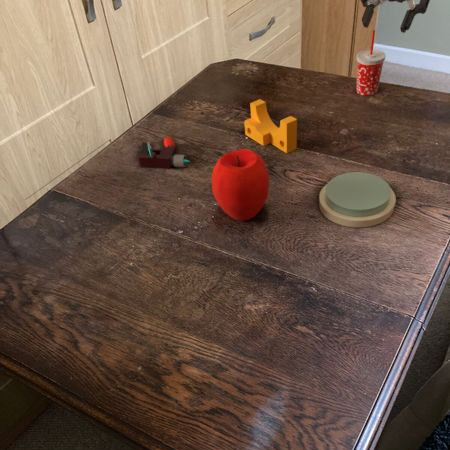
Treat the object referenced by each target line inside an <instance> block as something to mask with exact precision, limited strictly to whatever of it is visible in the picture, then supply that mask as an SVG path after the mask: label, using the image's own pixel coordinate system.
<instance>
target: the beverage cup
mask: <svg viewBox="0 0 450 450" xmlns="http://www.w3.org/2000/svg"><path fill="white" fill-rule="evenodd" d="M375 34H376V30H374V29H373V30H372V34H371V41H370V49H366V50H361V51H360V52H358V53H357V54H356V62H357V64H356V85H355V86H356V89H355V91H356V93H357V94H358V95H360V96H372V95H375V94H377V93H378V91H379V86H380V81H381V76H382V72H383V65H384V62H385V60H386V56H387V55H386V53H385V52H384V51H381V50H379V49H374V42H375Z"/></svg>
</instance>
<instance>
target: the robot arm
mask: <svg viewBox="0 0 450 450" xmlns="http://www.w3.org/2000/svg"><path fill="white" fill-rule="evenodd" d="M387 1H388V2H391V3H393V2H397V3H400V4H403V3H404V2H406V3H407V7H408V9H406V12H405V15H404V17H403V20H402V22H401V25H400V28H399V29H400V32H401V33H403V34H405V33H406V31H409V30H410V28H411V26H412V24H413V21H414V19H415V16H417V15H418V14H421V15H424V14H425V13H427V10H428V7H429V4H430V1H431V0H419V3H417V4H416V3H415V1H414V0H360V2H361V4H362V7H363V8H365V9H364V11H363V14H362V17H361V23H362V26H363V28H366V29H368V28H369V26H370V24H371V21H372V18H373V16H374V13H375V9H377V8H378V7H379V6H381V5H383V4H384V3H386V2H387Z"/></svg>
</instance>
